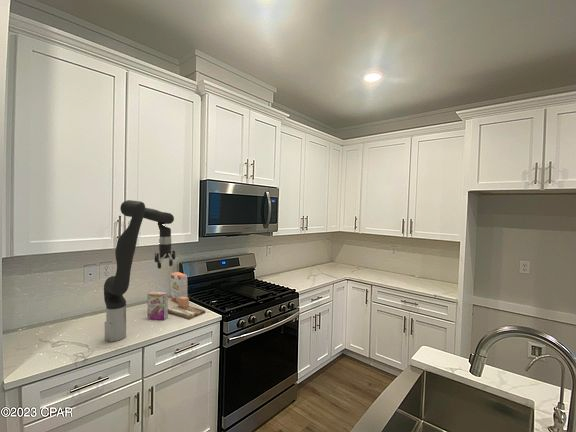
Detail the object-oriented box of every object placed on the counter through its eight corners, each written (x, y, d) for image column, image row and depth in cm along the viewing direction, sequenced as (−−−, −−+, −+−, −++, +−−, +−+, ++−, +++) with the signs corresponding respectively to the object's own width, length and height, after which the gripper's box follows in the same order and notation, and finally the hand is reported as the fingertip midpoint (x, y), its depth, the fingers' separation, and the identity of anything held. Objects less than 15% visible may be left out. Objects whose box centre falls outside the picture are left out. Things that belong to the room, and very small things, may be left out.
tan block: (184, 308, 195) (184, 299, 195) (178, 306, 198) (178, 297, 198) (188, 306, 199) (188, 297, 199) (182, 304, 202) (182, 296, 202)
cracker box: (170, 300, 215) (170, 272, 214) (178, 298, 219) (178, 271, 218) (180, 304, 206) (180, 276, 205) (187, 302, 210) (187, 274, 209)
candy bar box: (147, 319, 179) (147, 293, 179) (151, 316, 184) (151, 291, 184) (164, 320, 178) (164, 294, 178) (168, 317, 183) (168, 292, 182)
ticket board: (188, 319, 180) (188, 315, 180) (165, 312, 191) (165, 308, 191) (205, 312, 192) (205, 308, 192) (182, 306, 203) (182, 302, 203)
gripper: (159, 244, 183) (159, 270, 184) (177, 242, 195) (177, 266, 196) (152, 243, 186) (152, 268, 187) (170, 241, 199) (170, 264, 200)
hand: (165, 267), depth 192 cm, fingers open, 8 cm apart
